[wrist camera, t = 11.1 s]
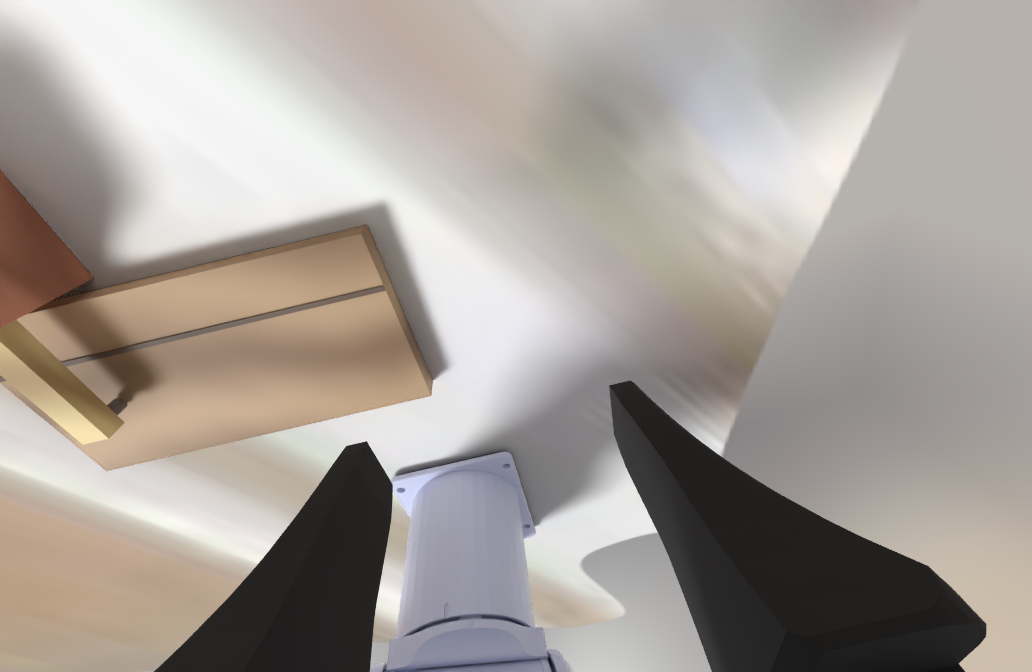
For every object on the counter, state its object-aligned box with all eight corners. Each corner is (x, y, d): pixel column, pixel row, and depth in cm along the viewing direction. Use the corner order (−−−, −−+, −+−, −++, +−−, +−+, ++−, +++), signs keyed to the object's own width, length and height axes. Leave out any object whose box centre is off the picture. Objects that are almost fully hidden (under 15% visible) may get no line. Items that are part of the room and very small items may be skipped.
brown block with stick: (185, 381, 21) (114, 458, 16) (110, 399, 21) (21, 480, 16) (-12, 154, 15) (-203, 184, 10) (-116, 180, 15) (-347, 220, 10)
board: (432, 381, 22) (431, 396, 21) (122, 453, 23) (105, 472, 21) (367, 224, 17) (360, 234, 16) (-29, 320, 18) (-60, 335, 17)
